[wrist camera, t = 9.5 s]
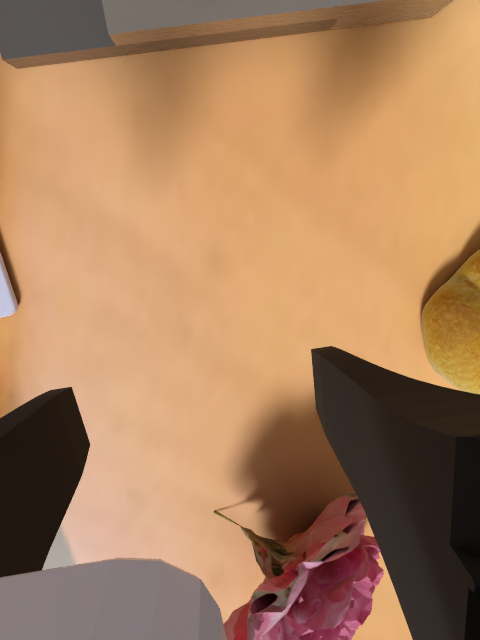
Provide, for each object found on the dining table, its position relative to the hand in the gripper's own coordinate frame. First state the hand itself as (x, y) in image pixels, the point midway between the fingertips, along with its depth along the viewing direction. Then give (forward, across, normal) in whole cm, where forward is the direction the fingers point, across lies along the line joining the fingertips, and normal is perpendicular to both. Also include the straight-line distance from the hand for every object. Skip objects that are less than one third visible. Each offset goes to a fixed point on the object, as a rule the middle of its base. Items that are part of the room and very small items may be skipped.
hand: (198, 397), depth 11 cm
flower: (+10, -4, +17) cm, 20 cm away
